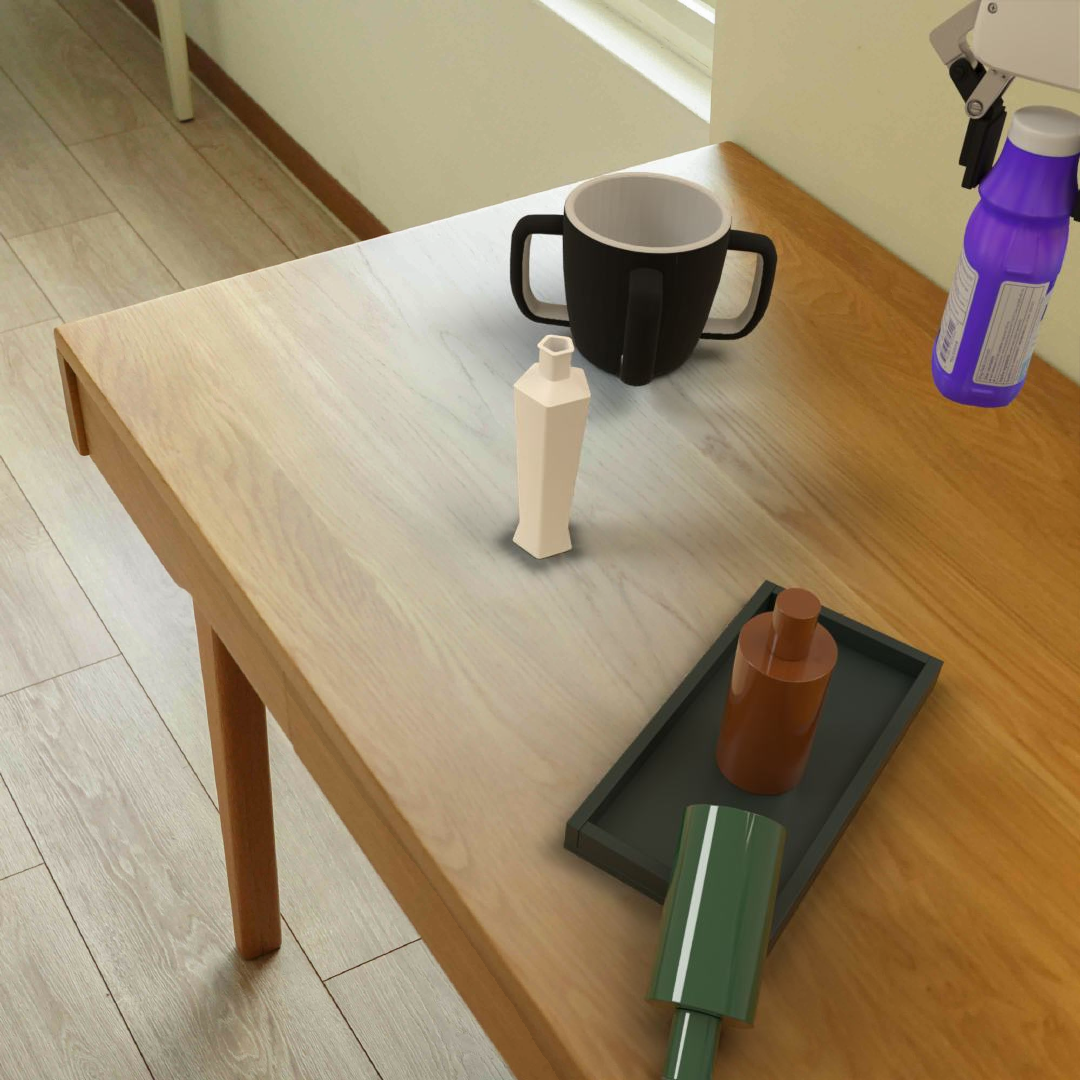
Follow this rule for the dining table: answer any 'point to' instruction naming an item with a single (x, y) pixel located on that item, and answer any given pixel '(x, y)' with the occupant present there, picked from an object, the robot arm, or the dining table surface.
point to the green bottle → (714, 931)
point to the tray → (694, 778)
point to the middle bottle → (776, 695)
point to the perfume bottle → (549, 446)
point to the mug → (641, 271)
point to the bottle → (1009, 260)
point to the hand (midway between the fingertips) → (1029, 193)
